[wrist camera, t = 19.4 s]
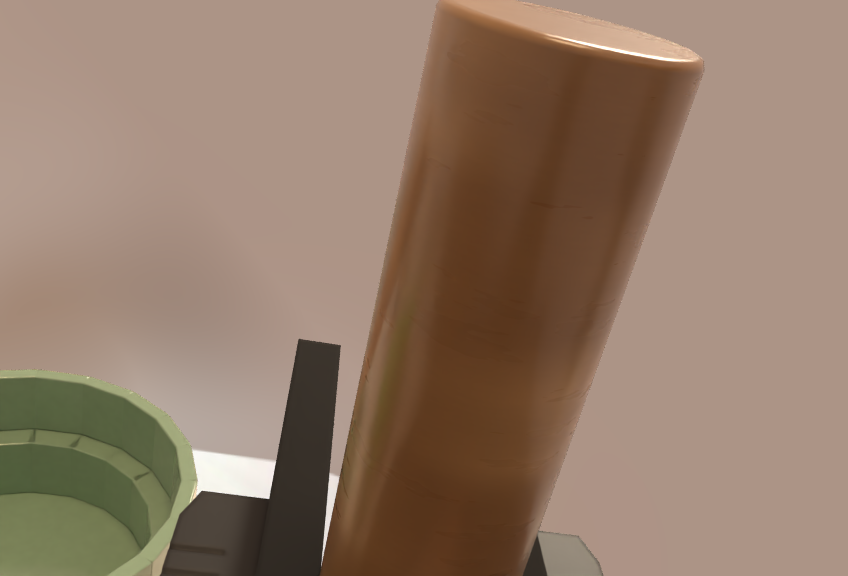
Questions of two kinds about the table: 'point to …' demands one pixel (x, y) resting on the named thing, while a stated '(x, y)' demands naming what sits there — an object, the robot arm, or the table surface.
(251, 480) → the table surface
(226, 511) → the robot arm
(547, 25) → the brown rod with base
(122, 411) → the bowl
